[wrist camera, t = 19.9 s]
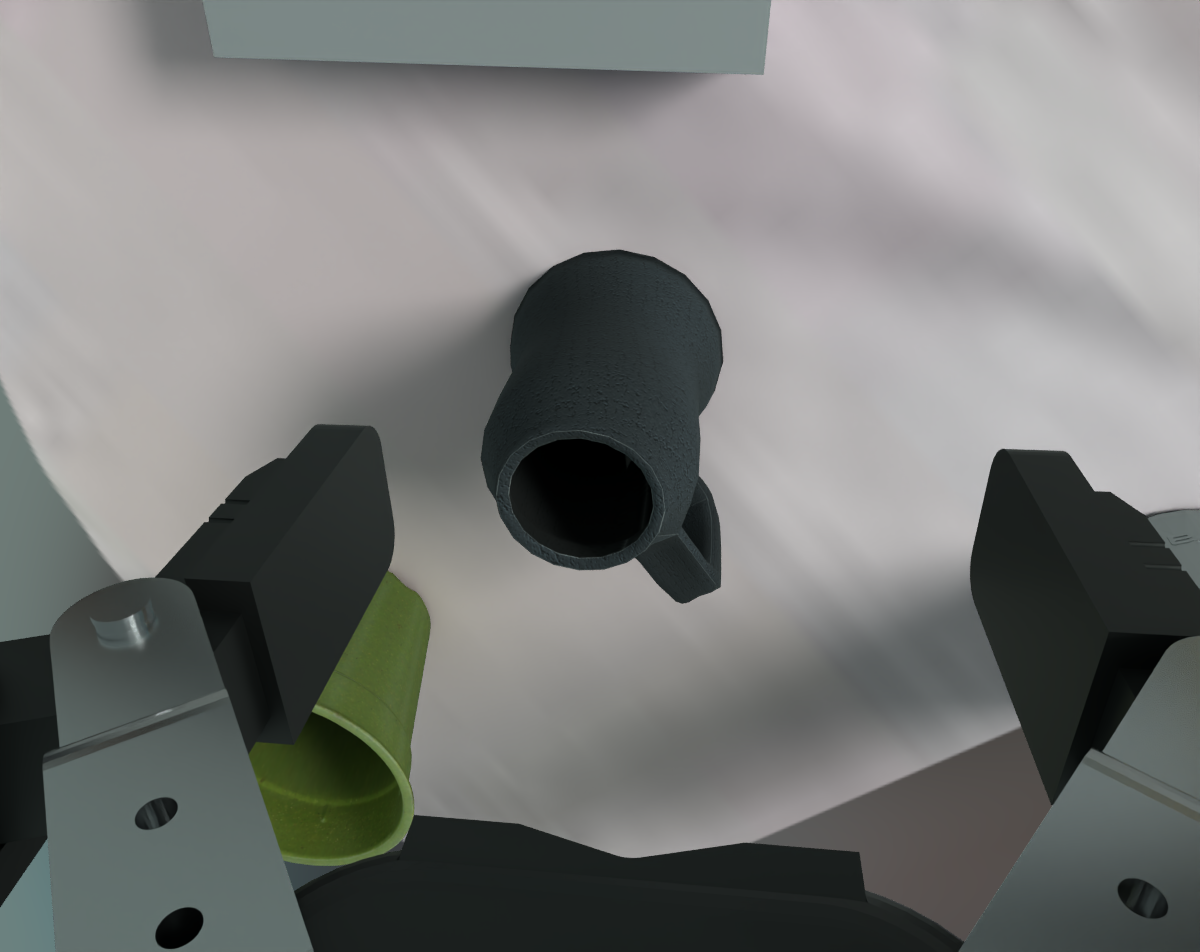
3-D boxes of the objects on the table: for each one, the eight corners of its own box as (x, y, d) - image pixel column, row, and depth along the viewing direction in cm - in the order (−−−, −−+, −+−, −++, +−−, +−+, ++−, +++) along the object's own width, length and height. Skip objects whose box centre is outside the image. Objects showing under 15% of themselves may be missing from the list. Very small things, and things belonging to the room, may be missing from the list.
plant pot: (214, 555, 48) (89, 720, 38) (406, 497, 44) (319, 663, 35) (332, 707, 53) (248, 883, 44) (511, 667, 50) (460, 849, 40)
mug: (467, 321, 39) (384, 461, 29) (647, 205, 35) (617, 323, 26) (624, 519, 43) (595, 694, 34) (795, 435, 40) (816, 606, 31)
